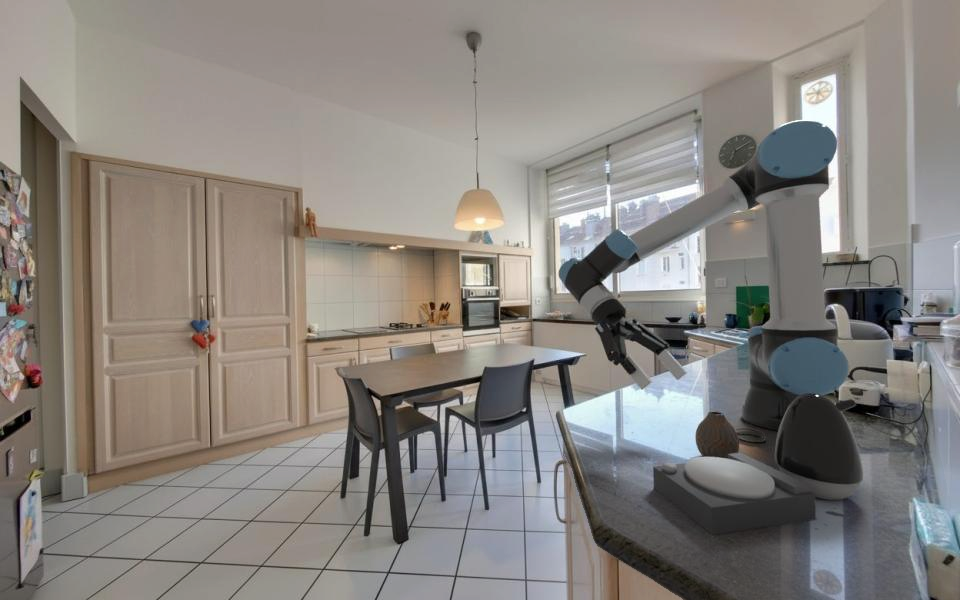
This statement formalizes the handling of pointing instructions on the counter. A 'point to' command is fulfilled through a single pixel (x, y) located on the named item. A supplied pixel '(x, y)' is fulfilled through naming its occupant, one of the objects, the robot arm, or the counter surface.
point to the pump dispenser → (819, 446)
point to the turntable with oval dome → (734, 493)
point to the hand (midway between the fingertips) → (665, 380)
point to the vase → (716, 436)
